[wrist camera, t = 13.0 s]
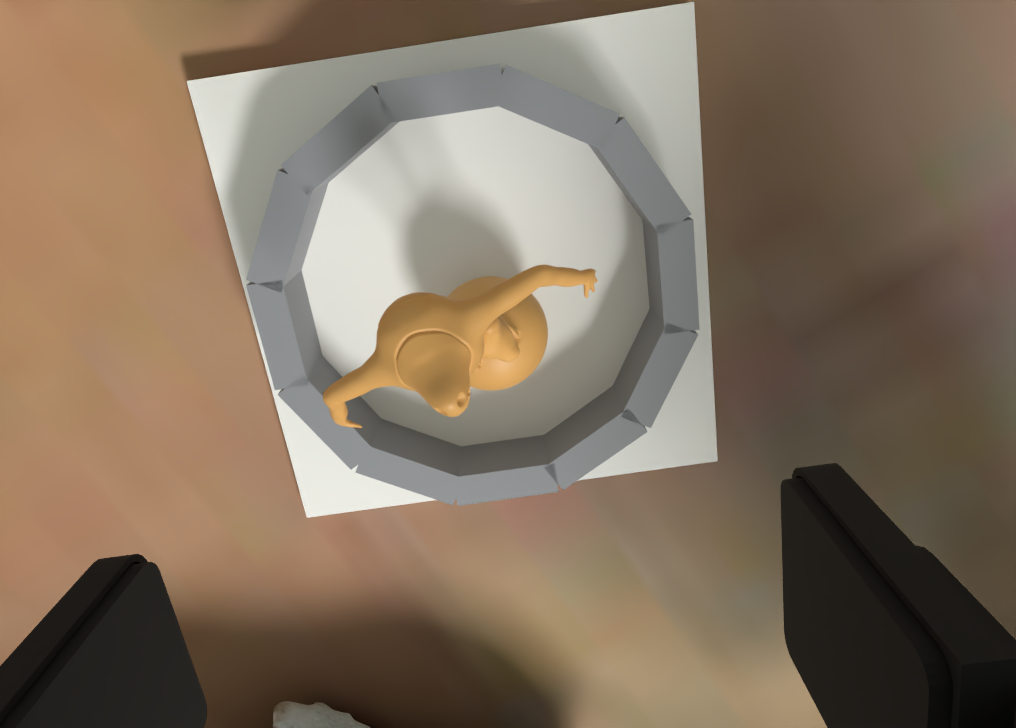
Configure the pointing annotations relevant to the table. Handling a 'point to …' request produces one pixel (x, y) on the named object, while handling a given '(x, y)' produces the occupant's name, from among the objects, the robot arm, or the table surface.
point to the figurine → (458, 341)
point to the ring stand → (477, 249)
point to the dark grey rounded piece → (311, 716)
